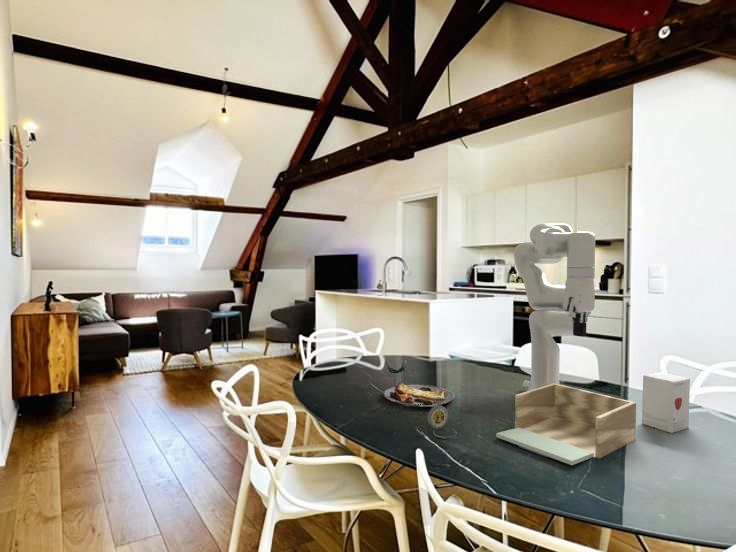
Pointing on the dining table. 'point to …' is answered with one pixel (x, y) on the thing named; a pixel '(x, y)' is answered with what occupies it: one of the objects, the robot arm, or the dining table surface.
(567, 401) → the crate
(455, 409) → the dining table surface
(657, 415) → the supplement box
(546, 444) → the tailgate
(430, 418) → the pocket watch
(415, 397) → the food plate
